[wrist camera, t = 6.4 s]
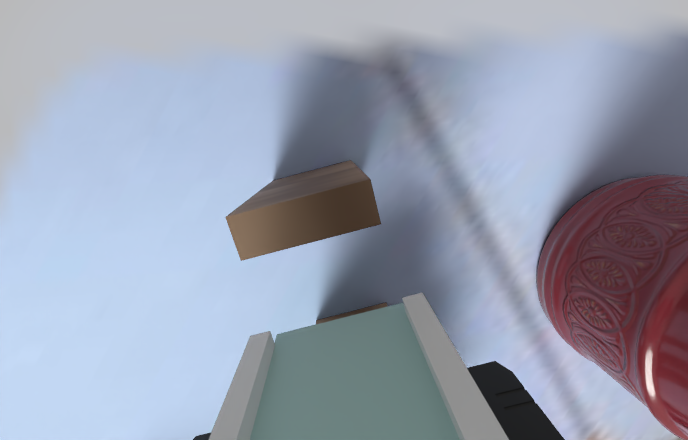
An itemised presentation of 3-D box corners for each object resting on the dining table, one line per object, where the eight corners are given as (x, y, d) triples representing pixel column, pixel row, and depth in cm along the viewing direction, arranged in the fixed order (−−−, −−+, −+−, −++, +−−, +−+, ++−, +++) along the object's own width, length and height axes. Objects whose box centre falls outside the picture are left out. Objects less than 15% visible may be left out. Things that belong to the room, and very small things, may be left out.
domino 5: (280, 205, 21) (240, 260, 12) (273, 180, 21) (225, 217, 11) (357, 184, 21) (381, 224, 12) (350, 160, 21) (370, 179, 11)
